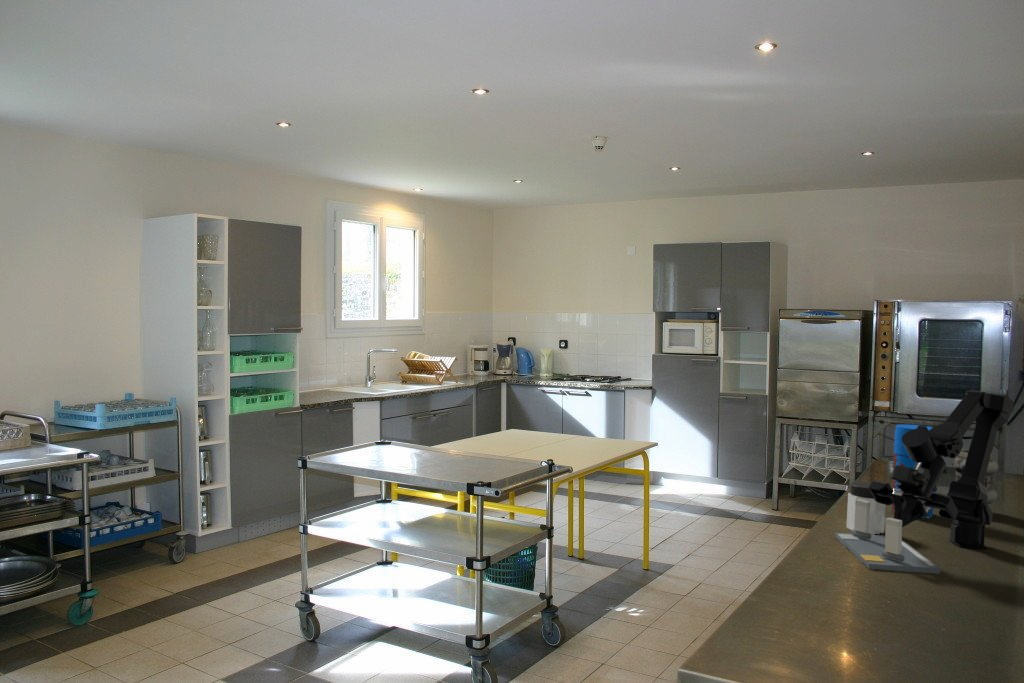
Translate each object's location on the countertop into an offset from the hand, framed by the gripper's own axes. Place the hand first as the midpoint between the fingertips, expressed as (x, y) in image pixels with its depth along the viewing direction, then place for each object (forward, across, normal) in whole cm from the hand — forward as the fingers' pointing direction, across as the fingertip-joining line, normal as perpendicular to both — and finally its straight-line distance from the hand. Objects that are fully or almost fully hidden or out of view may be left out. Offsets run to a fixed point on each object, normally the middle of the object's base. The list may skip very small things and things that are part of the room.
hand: (895, 528), depth 177 cm
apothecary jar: (-43, -17, +55) cm, 72 cm away
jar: (-9, -20, +21) cm, 31 cm away
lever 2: (+5, 0, +4) cm, 6 cm away
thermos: (-30, -24, +42) cm, 57 cm away
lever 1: (-2, -14, +11) cm, 18 cm away
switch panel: (+2, -6, +10) cm, 12 cm away
